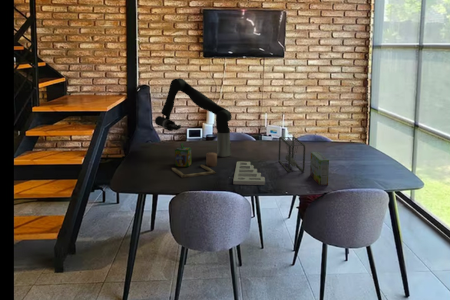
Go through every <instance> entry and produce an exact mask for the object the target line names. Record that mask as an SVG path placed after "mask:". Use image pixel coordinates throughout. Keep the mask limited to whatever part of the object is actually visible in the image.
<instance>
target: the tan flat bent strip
mask: <svg viewBox="0 0 450 300" xmlns="http://www.w3.org/2000/svg"><path fill="white" fill-rule="evenodd" d="M200 167H201V168H202V169H204V170H205V171H204V172H197V173H187V174H184V173H183V172H182V171H180V170H179V169H178V168H176V167H171V170H172V172H174V173H175V174H176V175H178V176H179V177H181V178H182V179H184V178H192V177H193V178H194V177H201V176H208V175H215V174H217V172H216V171H215V170H213V169H211V168H210V167H209V166H207V165H205V164H200Z"/></svg>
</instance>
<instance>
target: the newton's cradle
mask: <svg viewBox="0 0 450 300" xmlns="http://www.w3.org/2000/svg"><path fill="white" fill-rule="evenodd" d="M288 139H291V141H289V140H288ZM282 142H283V143H285V145H286V146H285V147H286V148H288V150H287V151H286V152H287V153H286V154H287V155H285V160H281V146H282V145H281V143H282ZM299 146H303V147H302V148H303V150H302V151H303V153H302V154H303V155H302V167H301V166H300V165H299V164H298V163H297V161H296V159H295V158H296V156H297V154H295V153H297V151H298V150H297V149H298V147H299ZM305 161H306V144H304V143H303V142H302V141H300V140H299V138H297V137H296V136H289V137H281V136H279V138H278V163H279V164H281V166H282V167H283V169H285V170H286V172H288V173H290V172H291V166H292V167H295V166H296V167H297V168H298V169H299V171H300V172H305V164H306V163H305ZM283 162H285V163H286V162H288V163H287V165H288V167H286V165H285V164H284V163H283Z"/></svg>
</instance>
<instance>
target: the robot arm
mask: <svg viewBox="0 0 450 300" xmlns="http://www.w3.org/2000/svg"><path fill="white" fill-rule="evenodd" d="M179 92H182V93H183V94H185V95H186V96H188V98H189V99H190V100H191V101H192V103H193V104H195V106H198V107H199V108H201V109H203V110H205V111H208V112H210V113H212V114H214V115H215V128H216V136H217V137H216V140H217V141H216V147H217V148H216V151H217V152H216V153H217V157H221V158H225V157H230V156H232V143H231V129H230V127H229V122H230V121H231V119H233V118H232V113H231V112H230V111H229V109H226V108H224V107H223V106H221V105H219V104H217V103H216V102H215V101H213V100H212V99H210V98H209V97H208V96H207V95H205V94H203V93H202V92H201V91H200V90H198V89H196V88H194V87H193V86H192V85H190V84H189V82H188V81H186V80H185V79H183V78H179V77H178V78H174V79H172V80H171V82H170V85H169V89H168V93H167V96H166V99H165V101H164V105H163V107H162V110H161V115H163V116H161V115H158V116H157V117H155V119H154V124H155V125H156V126H158V127H162V128H163V129H164V130H167V131H168V132H172V131H179V130H180V129H182V125H181V124H176V122H175V121H174V120H171V119H170V118H171V115H172V112H173V110H174V107H175V101H176V100H175V99H176V96H177V95H178V93H179Z"/></svg>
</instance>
